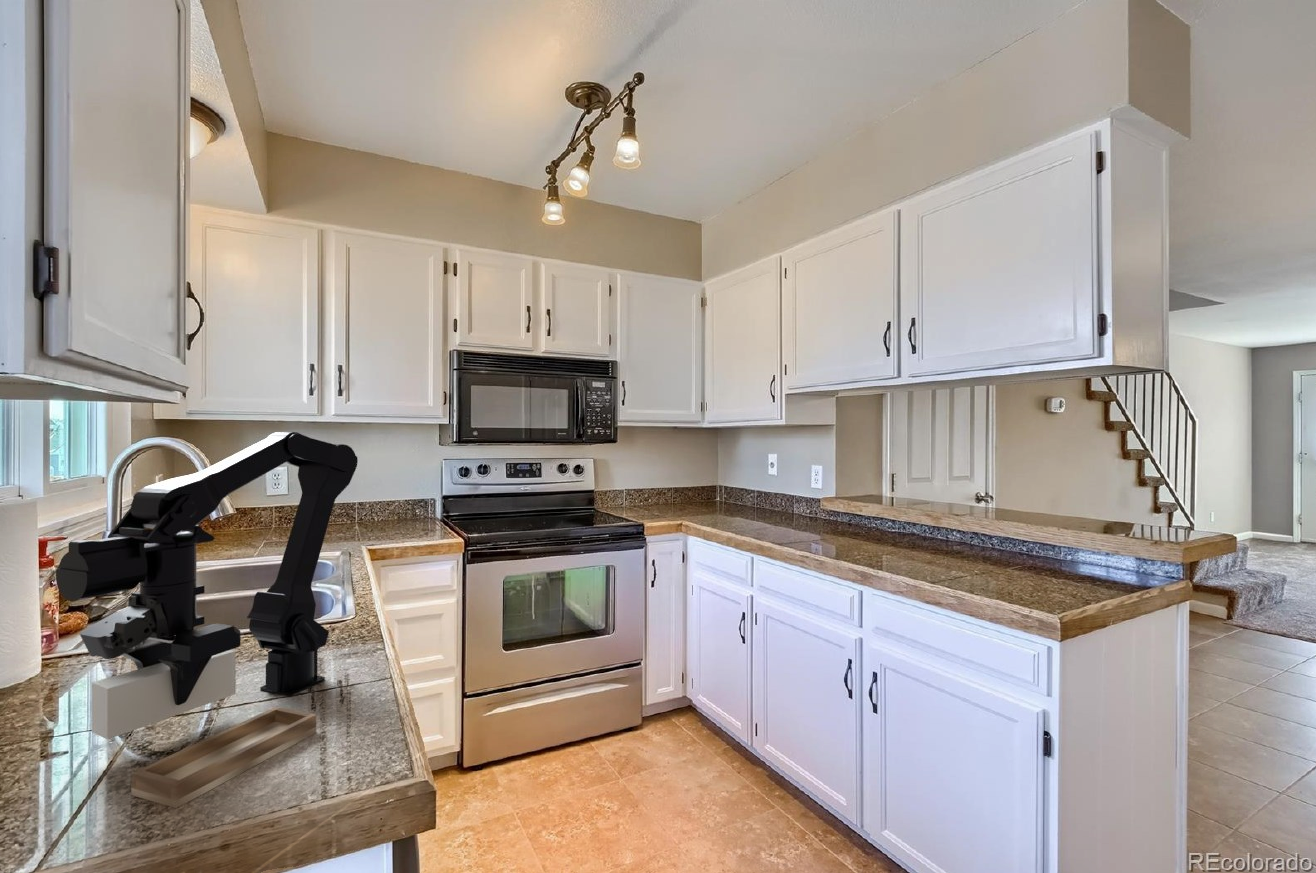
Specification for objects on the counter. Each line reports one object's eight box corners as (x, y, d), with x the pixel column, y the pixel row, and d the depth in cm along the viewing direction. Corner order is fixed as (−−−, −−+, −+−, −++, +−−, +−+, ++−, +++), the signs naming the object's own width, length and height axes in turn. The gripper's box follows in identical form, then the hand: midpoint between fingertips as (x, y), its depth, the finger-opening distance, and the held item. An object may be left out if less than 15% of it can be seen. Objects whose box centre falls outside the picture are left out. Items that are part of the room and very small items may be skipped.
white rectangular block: (219, 688, 85) (219, 646, 85) (235, 694, 83) (235, 651, 83) (91, 731, 73) (91, 682, 73) (107, 739, 71) (107, 688, 71)
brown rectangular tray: (276, 724, 82) (276, 706, 82) (316, 732, 80) (316, 714, 80) (131, 795, 66) (131, 773, 66) (176, 808, 63) (176, 785, 63)
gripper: (44, 590, 73) (44, 717, 73) (146, 604, 67) (146, 743, 67) (147, 571, 84) (147, 682, 84) (243, 581, 78) (243, 701, 78)
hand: (168, 701), depth 78 cm, fingers closed on white rectangular block, 4 cm apart
